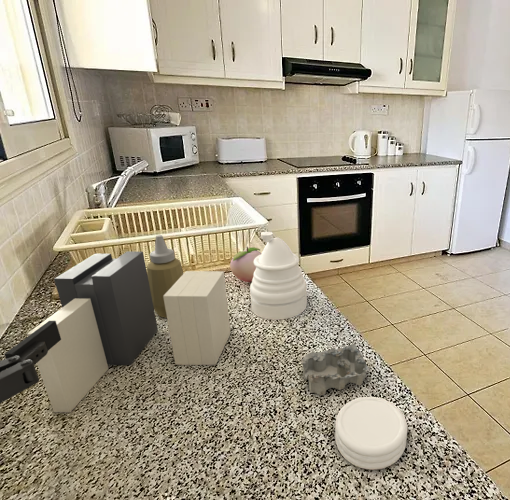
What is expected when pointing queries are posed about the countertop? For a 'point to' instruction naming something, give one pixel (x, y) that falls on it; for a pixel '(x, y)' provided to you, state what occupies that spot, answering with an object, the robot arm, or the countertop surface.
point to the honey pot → (277, 282)
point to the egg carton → (334, 369)
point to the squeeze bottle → (162, 274)
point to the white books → (198, 317)
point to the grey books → (114, 301)
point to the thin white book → (72, 356)
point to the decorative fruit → (244, 264)
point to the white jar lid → (371, 432)
